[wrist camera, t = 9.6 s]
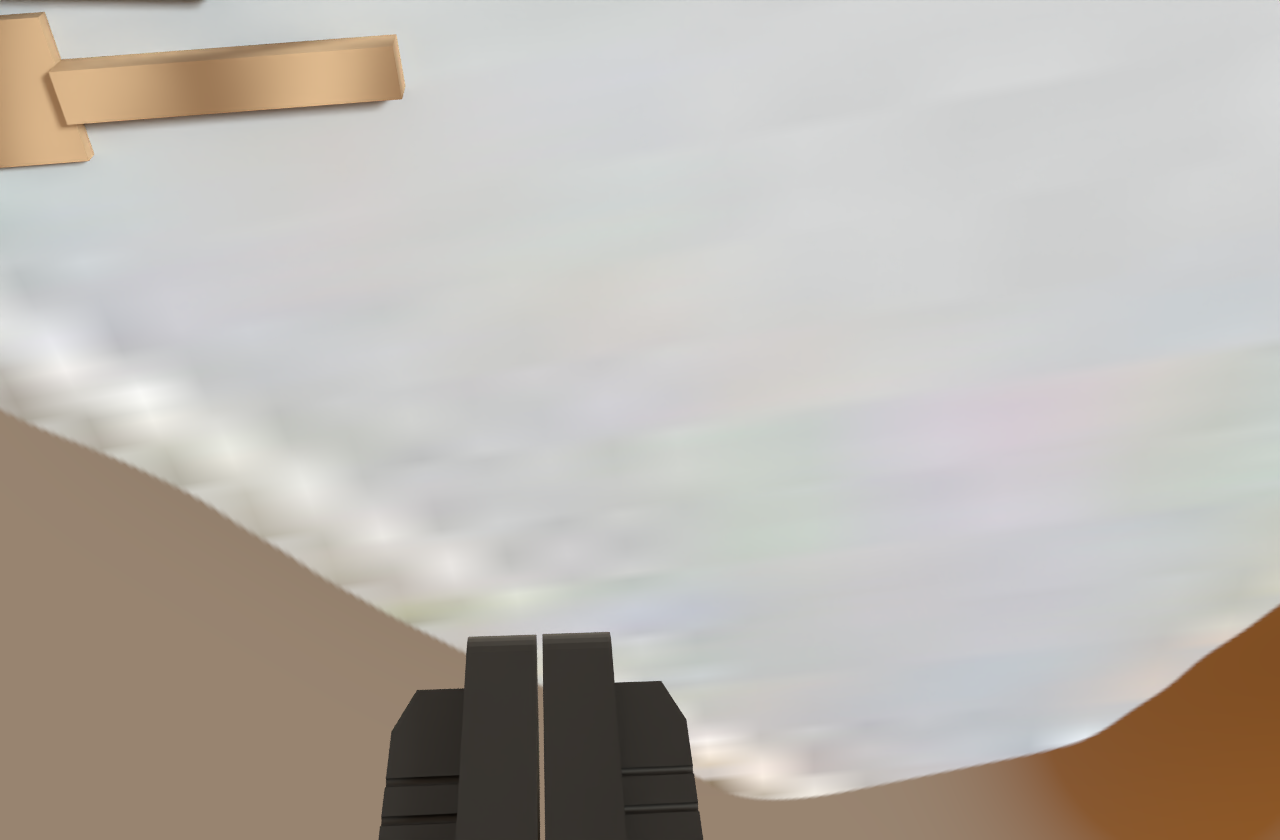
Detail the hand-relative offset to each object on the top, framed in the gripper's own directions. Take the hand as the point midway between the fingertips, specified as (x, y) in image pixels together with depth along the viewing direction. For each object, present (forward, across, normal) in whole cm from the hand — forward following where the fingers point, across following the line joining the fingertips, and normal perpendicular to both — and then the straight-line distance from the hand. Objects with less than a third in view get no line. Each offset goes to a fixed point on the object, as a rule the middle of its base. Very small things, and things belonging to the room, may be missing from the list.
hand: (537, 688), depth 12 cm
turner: (+27, +12, +3) cm, 30 cm away
